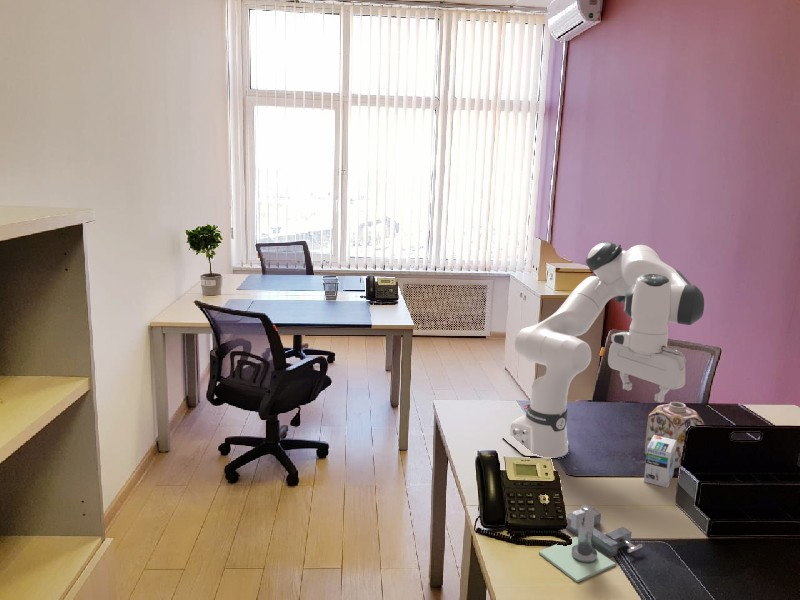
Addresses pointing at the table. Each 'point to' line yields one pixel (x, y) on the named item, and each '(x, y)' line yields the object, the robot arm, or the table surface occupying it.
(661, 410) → the decorative jar
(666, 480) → the light bulb box
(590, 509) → the grey tall rounded piece
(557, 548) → the mat
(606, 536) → the vise
